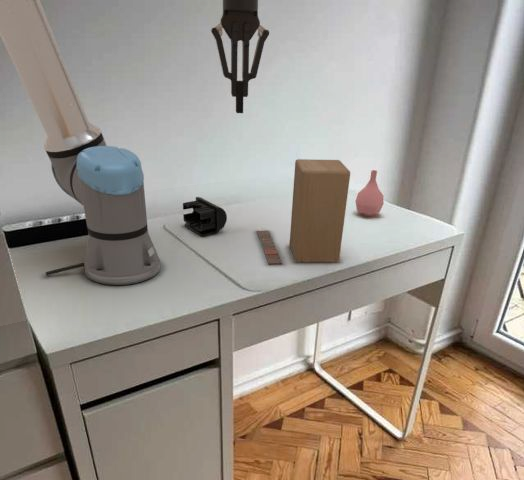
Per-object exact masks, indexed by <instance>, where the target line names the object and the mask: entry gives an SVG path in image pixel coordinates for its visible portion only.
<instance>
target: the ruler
mask: <svg viewBox="0 0 524 480" xmlns="http://www.w3.org/2000/svg"><path fill="white" fill-rule="evenodd" d="M256 234H257V237H258V240H259V242H260V245H261V247H262V250H263V252H264V255H265V258H266V261H267V264H268V265H269V266H272V265H274V266H277V265H279V266H280V265H281V266H282V265H283V261H282V259H281V256H280V254H279V253H280V252H279V251H278V249H277V247H276V245H275V242H274V240H273V237H272V235H271V232H270V231H269V230H256Z"/></svg>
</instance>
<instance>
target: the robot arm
mask: <svg viewBox="0 0 524 480" xmlns="http://www.w3.org/2000/svg"><path fill="white" fill-rule="evenodd" d="M223 30H224V32H225V34H226V35H227V37H228V39H229V40H230V71H229V66H228V61H227V57H226V52H225V47H224V43H223V39H222V36H223ZM256 32H257V37H258V39H257V41H256V47H255V50H254V55H253V59H252V63H251V67H250V41H251V40H252V39H253V37H254V35H255V33H256ZM210 33H211V34H212V36H213V38H214V40H215V44H216V49H217V52H218V57H219V61H220V66H221V71H222V75H223V77H224V78H226V79H228V80H230V94H231V96H232V97H233V98H235V113H236V114H244V98H247V97H248V96H249V82H250V81H251V80H253V79H256V78H257V75H258V72H259V67H260V63H261V59H262V55H263V50H264V45H265V43H266V41H267V39H268V37H269V35H270V30H268V29H266V28H265V27H263V26H262V25H261V21H260V18H259V0H222V15H221V18H220V23H218V24H217V25H216V26H214V27H211V29H210ZM0 38H1V40H2V42H3V44H4V46H5V49H6V51H7V53H8V55H9V58H10V60H11V62H12V64H13V66H14V68H15V70H16V72H17V75H18V76H19V78H20V81H21V83H22V85H23V87H24V89H25V92H26V94H27V96H28V98H29V100H30V102H31V104H32V106H33V109H34V111H35V113H36V116H37V117H38V120H39V122H40V123H41V125H42V128H43V130H44V132H45V134H46V140H45V142H44V145H43V148H44V151H45V152H46V155H47V156H48V159H49V161H50V163H51V164H50V167H51V172H52V176H53V178H54V179H55V182H56V184H57V185H58V186H59V188H60V189H61V190H62V191H63V192H64V193H65V194H66V195H68V196H69V197H71V198H73V199H74V200H75V201H76V202H77V203H79V204H81V206H83V211H84V216H85V222H86V229H87V234H88V238H87V244H86V250H85V256H84V261H83V262H82V263H81V262H80V263H76V264H73V265H68V266H65V267H60V268H56V269H52V270H48V271H45V275H46V276H50V275H54V274H58V273H62V272H65V271H69V270H70V271H71V270H74V269H79V268H83V269H84V274H85V276H86V277H87V278H88V279H89V280H91V281H93V282H95V283H98V284H102V285H110V286H125V285H133V284H138V283H142V282H145V281H147V280H150V279H152V278H153V277H155V276H157V274H158V273H159V272H160V270H161V261H160V257H159V255H158V252H157V250H156V247H155V245H154V243H153V241H152V238H151V236H150V234H149V229H148V218H147V217H148V216H147V205H146V196H145V195H146V194H145V183H144V182H145V181H144V180H145V174H144V172H143V168H142V162H141V160H140V158H139V156H138V155H137V154H136V153H134V152H133V151H131V150H129V149H127V148H123V147H120V148H119V147H118V146H112V145H107V142H106V140H105V138H104V135H103V133H102V131H101V128H100V127H98V126H96V125H94V124H92V123H91V122H90V121H89V118H88V116H87V113H86V111H85V108H84V106H83V103H82V101H81V98H80V96H79V93H78V91H77V89H76V86H75V84H74V81H73V78H72V76H71V73H70V71H69V69H68V66H67V63H66V62H65V59H64V57H63V53H62V52H61V49H60V47H59V44H58V42H57V39H56V36H55V35H54V32H53V29H52V27H51V25H50V22H49V20H48V17H47V15H46V12H45V10H44V7H43V4H42V2H41V0H0ZM239 41H241V44H242V45H241V46H242V52H241V56H242V60H241V61H242V62H241V63H242V64H241V78H242V79H241V80H238V46H239ZM249 71H250V72H249Z"/></svg>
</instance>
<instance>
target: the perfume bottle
mask: <svg viewBox="0 0 524 480" xmlns="http://www.w3.org/2000/svg"><path fill="white" fill-rule="evenodd" d="M377 175H378V171H377V170H375V169H373V170H371V171H370V176H369V177H370V178H369V180H368V182H367V184H366V185H365V186H364V187H363V188H362V189H361V190H359V191H358V193H357V195H356V198H355V207H356V209H355V210H356V211H357V212H358V213H361V214H363V216H366V217H372V216H373V215H377V214H379V213H380V212H381V211H382V208H383V206H384V194H383V193H382V191H381V190H380V188H379V186H378V182H377Z"/></svg>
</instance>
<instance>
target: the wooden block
mask: <svg viewBox="0 0 524 480" xmlns="http://www.w3.org/2000/svg"><path fill="white" fill-rule="evenodd" d="M350 179H351V171H350V170H349V168H347V166H346V165H345V164H344V163H343V162H342V161H341V160H340V159H302V158H301V159H300V158H299V159H298V158H297V159H295V162H294V176H293V191H292V201H291V202H292V204H291V206H292V207H291V217H290V218H291V219H290V232H289V233H290V234H289V248H290V250H291V253H292V256H293V258H294V261H295V263H339V262H340V256H341V249H342V241H343V240H342V239H343V233H344V225H345V217H346V210H347V204H348V203H347V202H348V194H349V187H350Z"/></svg>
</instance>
